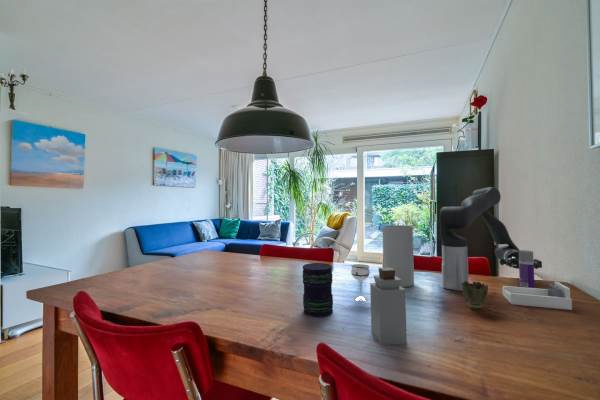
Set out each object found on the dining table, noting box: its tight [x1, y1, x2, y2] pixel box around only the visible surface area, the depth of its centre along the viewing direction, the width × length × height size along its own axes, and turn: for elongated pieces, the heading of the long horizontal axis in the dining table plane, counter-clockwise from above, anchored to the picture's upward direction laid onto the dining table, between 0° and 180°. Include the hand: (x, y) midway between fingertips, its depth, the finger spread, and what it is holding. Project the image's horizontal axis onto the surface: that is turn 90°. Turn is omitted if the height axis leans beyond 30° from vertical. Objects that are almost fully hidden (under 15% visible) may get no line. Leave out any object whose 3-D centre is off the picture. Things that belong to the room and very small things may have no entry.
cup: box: [462, 281, 489, 310], centre depth 93 cm, size 8×7×8 cm
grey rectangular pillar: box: [381, 224, 415, 288], centre depth 123 cm, size 12×12×25 cm
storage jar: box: [302, 262, 334, 318], centre depth 92 cm, size 10×10×15 cm
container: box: [518, 249, 536, 288], centre depth 112 cm, size 5×5×15 cm
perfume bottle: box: [369, 267, 408, 346], centre depth 73 cm, size 7×7×18 cm
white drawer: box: [502, 281, 573, 311], centre depth 97 cm, size 16×10×6 cm, turn 68°
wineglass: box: [350, 263, 371, 302], centre depth 104 cm, size 7×7×12 cm
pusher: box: [547, 283, 562, 297], centre depth 95 cm, size 1×7×5 cm, turn 158°
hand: (523, 265), depth 115 cm, fingers open, 8 cm apart
